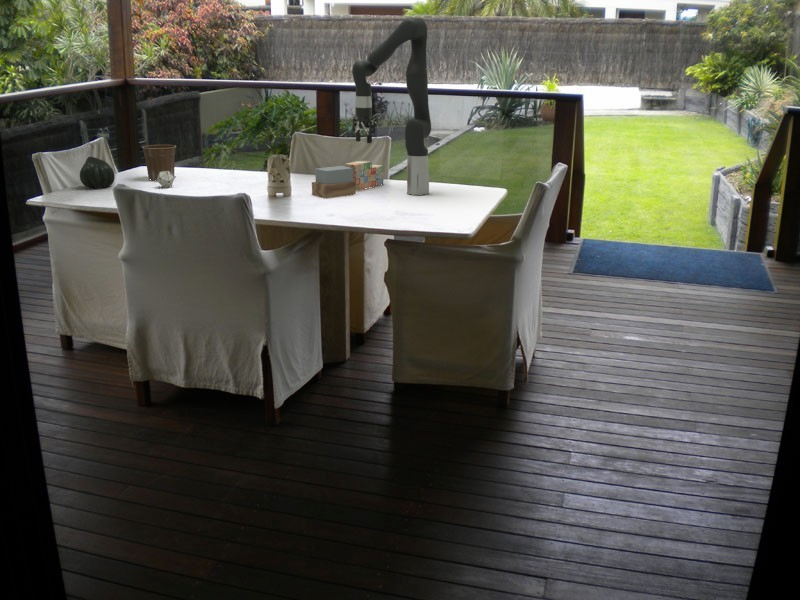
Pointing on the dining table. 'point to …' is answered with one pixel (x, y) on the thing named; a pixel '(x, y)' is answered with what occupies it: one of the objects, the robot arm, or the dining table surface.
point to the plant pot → (159, 159)
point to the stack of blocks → (366, 174)
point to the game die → (165, 178)
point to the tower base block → (333, 189)
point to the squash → (96, 173)
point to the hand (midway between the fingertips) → (363, 142)
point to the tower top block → (334, 175)
